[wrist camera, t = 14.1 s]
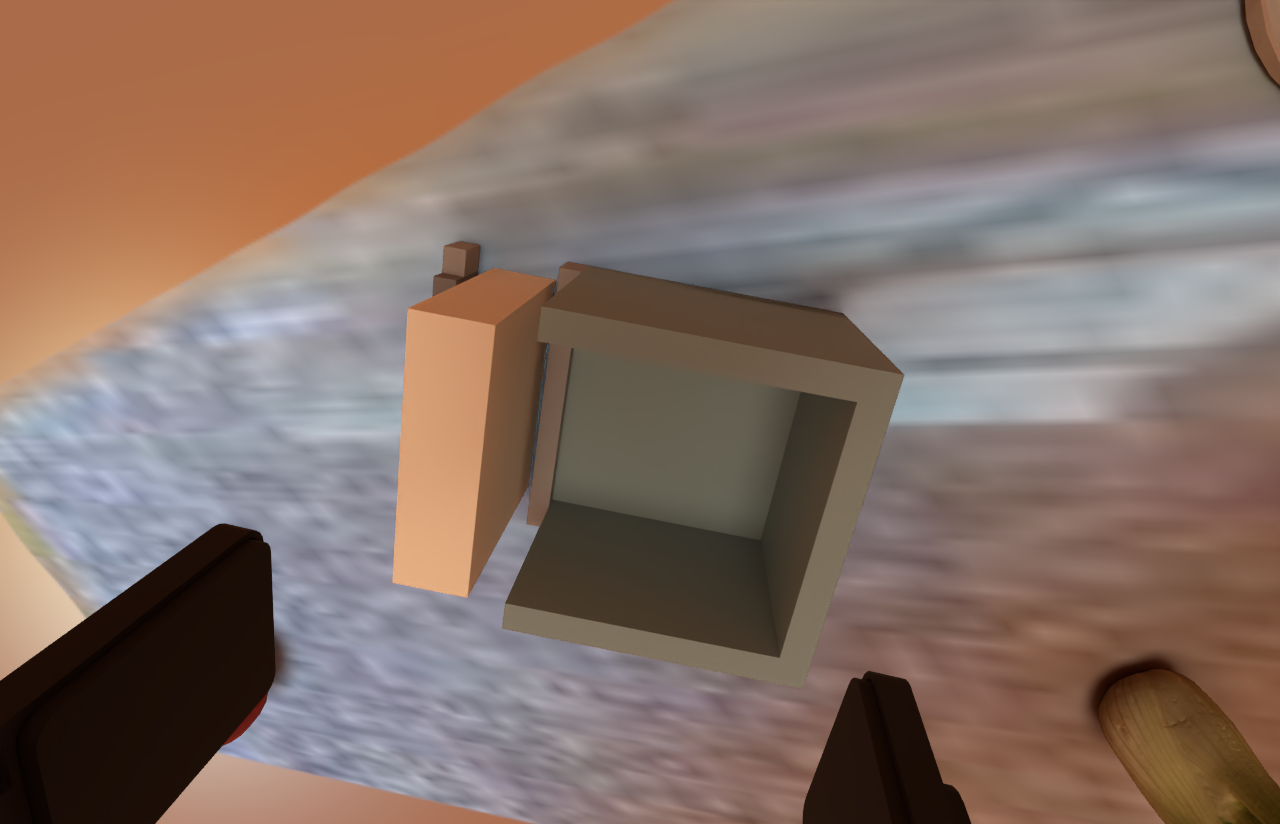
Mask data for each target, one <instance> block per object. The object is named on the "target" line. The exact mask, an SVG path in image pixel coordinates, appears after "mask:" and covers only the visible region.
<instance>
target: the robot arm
mask: <svg viewBox="0 0 1280 824" xmlns="http://www.w3.org/2000/svg"><path fill="white" fill-rule="evenodd" d="M1245 9H1246V21H1247V24H1248V28H1249V31H1250V34H1251V38H1252V41H1253V44H1254V47H1255V51H1256V52H1257V54H1258V56H1259V58H1260V59H1261V61H1262V63H1263V64H1264V66H1265V68H1266V69H1267V71H1268V73H1269V74H1270V76H1271V77H1272V78H1273V79H1274V80H1275V81H1276V82H1277V83H1278V84H1279V85H1280V0H1245ZM274 676H275V647H274V621H273V594H272V567H271V549H270V546H269V544H268V543H265V542H263V537H262V535H261V533H260V532H258V531H255V530H251V529H247V528H242V527H238V526H234V525H229V524H225V523H224V524H218V525H216V526H214V527H213V528H211V529H210V530H208V531H207V532H206V533H204V534H203V535H202V536H200V537H199V538H197V539H196V540H195V541H193V542H192V543H190V544H189V545H188V546H186V547H185V548H184V549H182V550H181V551H179V552H178V553H177V554H175V555H174V556H172V557H171V558H170V559H168V560H167V561H166V562H164V563H163V564H161V565H160V566H159V567H157V568H156V569H154V570H153V571H152V572H150V573H149V574H148V575H146V576H145V577H143V578H142V579H141V580H139V581H138V582H136V583H135V584H134V585H132V586H131V587H129V588H128V589H127V590H125V591H124V592H123V593H121V594H120V595H118V596H117V597H116V598H114V599H113V600H111V601H110V602H109V603H107V604H106V605H105V606H103V607H102V608H100V609H99V610H98V611H96V612H95V613H93V614H92V615H91V616H89V617H88V618H87V619H85V620H84V621H82V622H81V623H80V624H78V625H77V626H75V627H74V628H73V629H71V630H70V631H68V632H67V633H66V634H64V635H63V636H62V637H60V638H59V639H57V640H56V641H55V642H53V643H52V644H50V645H49V646H48V647H46V648H45V649H44V650H42V651H41V652H39V653H38V654H37V655H35V656H34V657H32V658H31V659H30V660H28V661H27V662H26V663H24V664H23V665H21V666H20V667H19V668H17V669H16V670H14V671H13V672H12V673H10V674H9V675H7V676H6V677H5V678H3V679H2V680H1V681H0V824H155V823H156V822H157V821H158V820H159V819H160V817H161V816H162V815H163V814H164V813H165V812H166V811H167V809H168V808H169V807H170V806H171V805H172V803H173V802H174V801H175V800H176V799H177V798H178V797H179V795H180V794H181V793H182V792H183V791H184V790H185V788H186V787H187V786H188V785H189V784H190V783H191V781H192V780H193V779H194V778H195V777H196V776H197V774H198V773H199V772H200V771H201V770H202V769H203V768H204V766H205V765H206V764H207V763H208V761H210V759H211V758H212V757H213V756H214V755H215V754H216V752H217V751H218V750H219V749H220V748H221V747H222V745H223V744H224V743H225V742H226V741H227V740H228V738H229V737H230V736H231V735H232V734H233V733H234V732H235V730H236V729H237V728H238V727H239V726H240V725H241V723H242V722H243V721H244V720H245V719H246V718H247V716H248V715H249V714H250V713H251V712H252V711H253V709H254V708H255V707H256V706H257V705H258V704H259V702H260V701H261V700H262V699H263V698H264V697H265V695H266V694H267V692H268V691H269V689H270V687H271V685H272V683H273V680H274ZM803 824H971V822H970V819H969V816H968V813H967V810H966V808H965V805H964V802H963V800H962V798H961V796H960V794H959V792H958V791H957V790H956V789H955V788H954V787H953V786H951V785H948V784H943V781H942V778H941V775H940V772H939V770H938V767H937V764H936V761H935V758H934V755H933V752H932V749H931V746H930V743H929V740H928V737H927V734H926V731H925V728H924V725H923V722H922V719H921V716H920V713H919V710H918V707H917V704H916V701H915V698H914V695H913V692H912V689H911V686H910V684H909V682H908V681H907V680H906V679H902V678H898V677H894V676H889V675H885V674H880V673H876V672H872V671H867V672H866V673H865V674H864V676H863V678H862V679H858V678H853V679H852V680H851V681H850V683H849V685H848V688H847V691H846V693H845V696H844V699H843V701H842V704H841V707H840V709H839V712H838V714H837V717H836V720H835V722H834V725H833V728H832V730H831V733H830V736H829V738H828V741H827V743H826V746H825V749H824V751H823V754H822V757H821V759H820V762H819V765H818V767H817V770H816V772H815V775H814V778H813V780H812V783H811V786H810V788H809V791H808V793H807V796H806V799H805V803H804V809H803Z"/></svg>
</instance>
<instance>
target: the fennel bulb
mask: <svg viewBox="0 0 1280 824" xmlns="http://www.w3.org/2000/svg"><path fill="white" fill-rule="evenodd" d="M1099 720H1100V723H1101V727H1102V730H1103V732H1104V735H1105V737H1106V739H1107V741H1108V742H1109V744H1110V746H1111V748H1112V749H1113V751H1114V753H1115V754H1116V756H1117V757H1118V758H1119V760H1120V761H1121V763H1122V764H1123V766H1124V768H1125V769H1126V771H1127V772H1128V773H1129V775H1130V777H1131V778H1132V780H1133V781H1134V782H1135V784H1136V785H1137V787H1138V788H1139V790H1140V791H1141V793H1142V794H1143V796H1144V797H1145V798H1146V800H1147V801H1148V802H1149V804H1150V805H1151V806H1152V808H1153V809H1154V810H1155V812H1156V813H1157V814H1158V816H1159V817H1160V818H1161V819H1162V820H1163V821H1164V823H1165V824H1280V788H1279V786H1278V785H1277V784H1276V782H1275V781H1274V780H1273V779H1272V778H1271V777H1270V776H1269V774H1268V773H1267V771H1266V770H1265V769H1264V767H1263V766H1262V765H1261V763H1260V761H1259V760H1258V759H1257V757H1256V755H1255V754H1254V753H1253V751H1252V749H1251V748H1250V746H1249V745H1248V743H1247V742H1246V740H1245V739H1244V737H1243V736H1242V735H1241V733H1240V732H1239V731H1238V729H1237V728H1236V727H1235V725H1234V724H1233V722H1232V721H1231V720H1230V719H1229V718H1228V717H1227V716H1226V715H1225V713H1224V712H1223V711H1222V710H1221V709H1220V708H1219V706H1218V705H1217V704H1216V703H1215V702H1214V701H1213V700H1212V699H1211V698H1210V697H1209V696H1208V695H1207V694H1206V693H1205V692H1204V691H1203V690H1202V689H1201V688H1200V687H1199V686H1197V685H1196V684H1195V682H1193V681H1191V680H1190V679H1188V678H1187V677H1185V676H1183V675H1181V674H1178V673H1176V672H1172V671H1166V670H1163V669H1153V670H1149V671H1145V672H1143V673H1136V674H1133V675H1130V676H1128V677H1125V678H1123V679H1121V680H1119V681H1117V682H1115V683H1114V684H1113V685H1112V686H1111V687H1110V688H1109V689H1108V690H1107V692H1106V693H1105V695H1104V697H1103V699H1102V701H1101V703H1100V705H1099Z"/></svg>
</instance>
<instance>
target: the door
mask: <svg viewBox="0 0 1280 824" xmlns="http://www.w3.org/2000/svg"><path fill="white" fill-rule="evenodd" d="M554 288H555V280H553V279H548V278H543V277H538V276H532V275H527V274H522V273H517V272H512V271H506V270H501V269H496V268H492V269H490V270H488V271H486V272H484V273H482V274H480V275H478V276H475V277H473V278H471V279H469V280H467V281H465V282H463V283H461V284H459V285H456V286H454V287H452V288H450V289H448V290H446V291H444V292H442V293H439V294H437V295H435V296H433V297H431V298H429V299H427V300H425V301H423V302H420V303H418V304H416V305H414V306H412V307H410V308H408V315H407V333H406V351H405V369H404V387H403V405H402V423H401V440H400V458H399V476H398V494H397V512H396V530H395V548H394V565H393V583H397V584H402V585H407V586H412V587H417V588H422V589H427V590H432V591H437V592H441V593H446V594H451V595H456V596H461V597H466V598H468V596H469V594H470V592H471V590H472V588H473V587H474V585H475V583H476V581H477V579H478V577H479V576H480V574H481V572H482V570H483V568H484V566H485V565H486V563H487V561H488V559H489V557H490V555H491V554H492V552H493V550H494V548H495V546H496V544H497V543H498V541H499V539H500V537H501V535H502V533H503V532H504V530H505V528H506V526H507V524H508V522H509V521H510V519H511V517H512V515H513V513H514V511H515V509H516V508H517V506H518V504H519V502H520V500H521V498H522V497H523V495H524V493H525V491H526V489H527V487H528V485H529V478H530V470H531V462H532V455H533V447H534V440H535V432H536V424H537V417H538V409H539V402H540V394H541V386H542V379H543V371H544V364H545V356H546V348H547V343H543V342H538V341H537V339H538V331H539V323H540V314H541V306H542V305H543V304H545V303H546V302H547V301H548V300H549V299H551V298H552V297H553V295H554Z"/></svg>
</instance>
